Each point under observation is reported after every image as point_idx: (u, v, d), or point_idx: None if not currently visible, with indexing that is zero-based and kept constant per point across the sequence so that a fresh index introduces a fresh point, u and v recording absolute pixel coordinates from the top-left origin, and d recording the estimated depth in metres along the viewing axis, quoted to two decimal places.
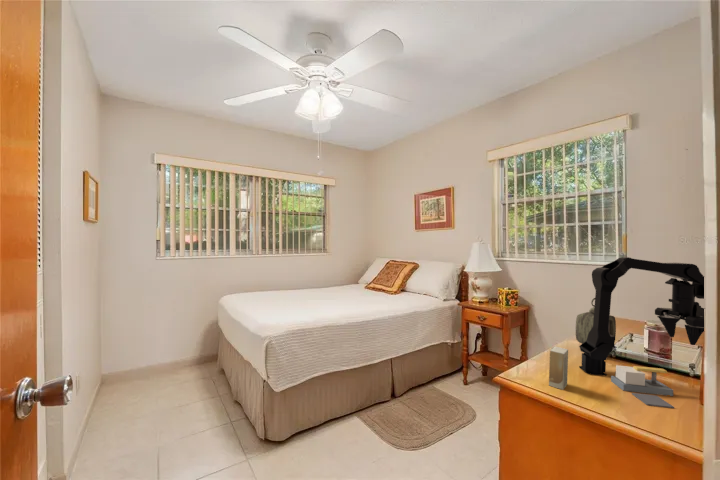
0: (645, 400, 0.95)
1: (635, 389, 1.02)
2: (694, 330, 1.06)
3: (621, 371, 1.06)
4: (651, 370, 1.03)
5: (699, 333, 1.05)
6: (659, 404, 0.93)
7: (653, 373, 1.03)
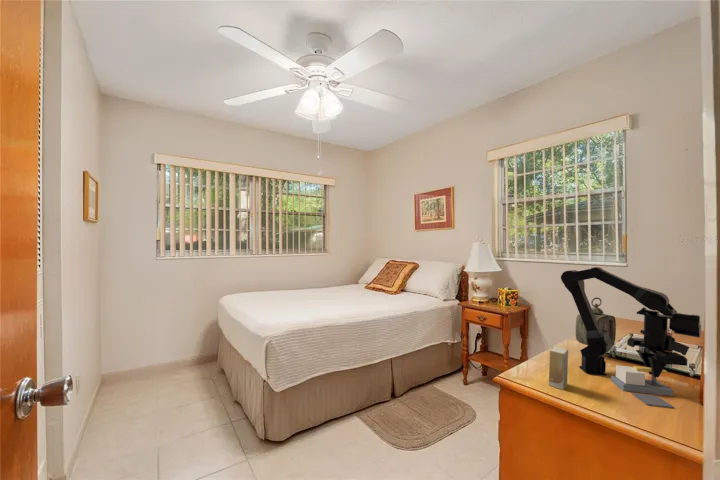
0: (645, 400, 0.95)
1: (635, 389, 1.02)
2: (657, 362, 1.02)
3: (621, 371, 1.06)
4: (651, 370, 1.03)
5: (662, 365, 1.01)
6: (659, 404, 0.93)
7: None
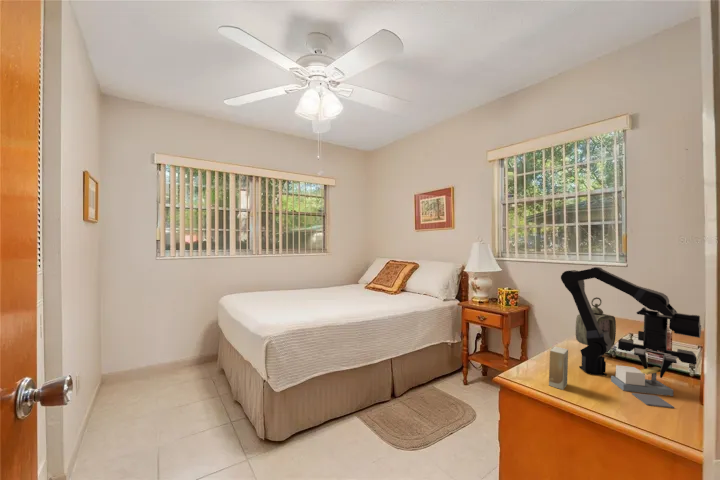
0: (645, 400, 0.95)
1: (635, 389, 1.02)
2: None
3: (621, 371, 1.06)
4: (655, 371, 1.02)
5: None
6: (659, 404, 0.93)
7: (654, 373, 1.03)
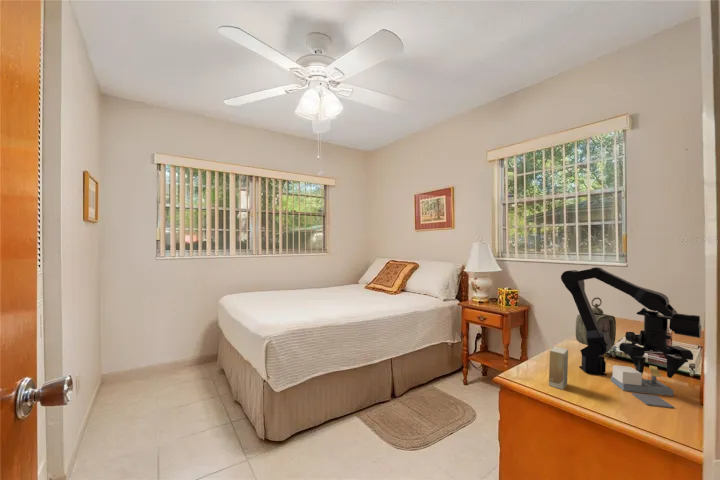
0: (645, 400, 0.95)
1: (635, 389, 1.02)
2: None
3: (617, 371, 1.06)
4: None
5: None
6: (659, 404, 0.93)
7: None
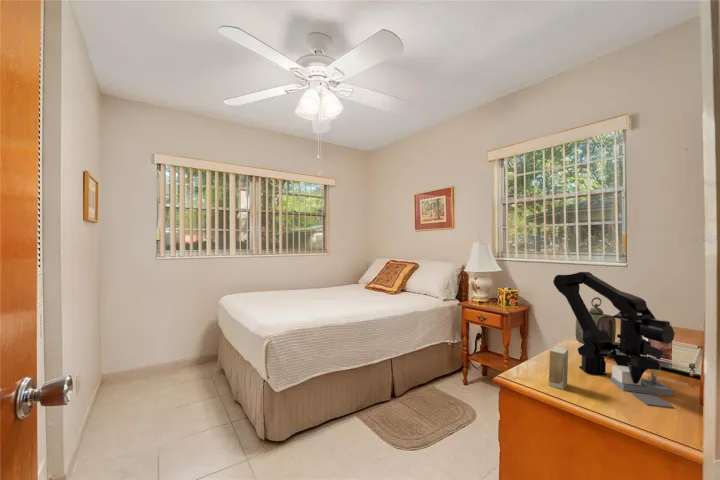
0: (645, 400, 0.95)
1: (635, 389, 1.02)
2: (636, 368, 1.01)
3: (617, 371, 1.06)
4: None
5: (641, 372, 1.01)
6: (659, 404, 0.93)
7: None
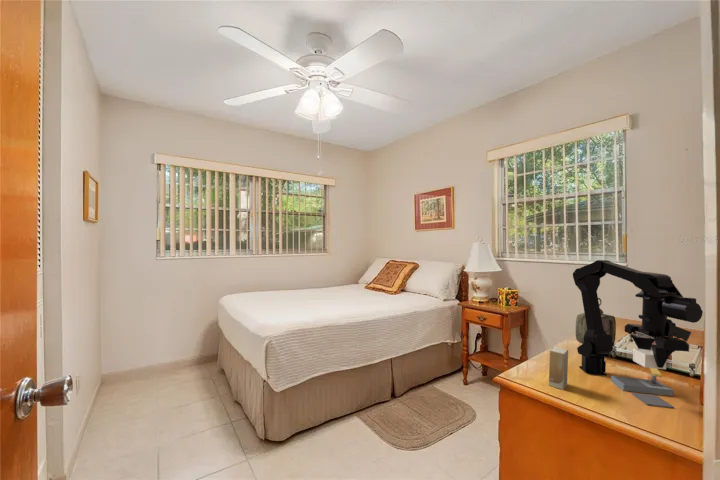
0: (645, 400, 0.95)
1: (635, 389, 1.02)
2: (661, 351, 0.92)
3: (639, 354, 0.97)
4: None
5: (667, 354, 0.92)
6: (659, 404, 0.93)
7: None
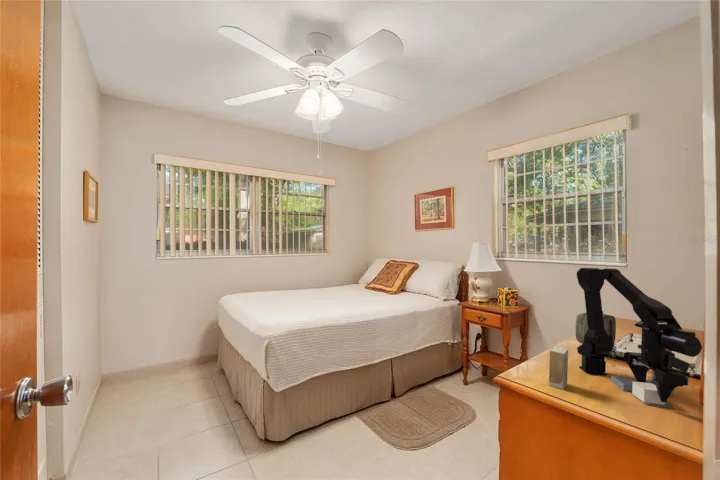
0: None
1: None
2: (665, 385, 0.91)
3: (638, 388, 0.97)
4: None
5: (670, 389, 0.90)
6: (659, 404, 0.93)
7: None
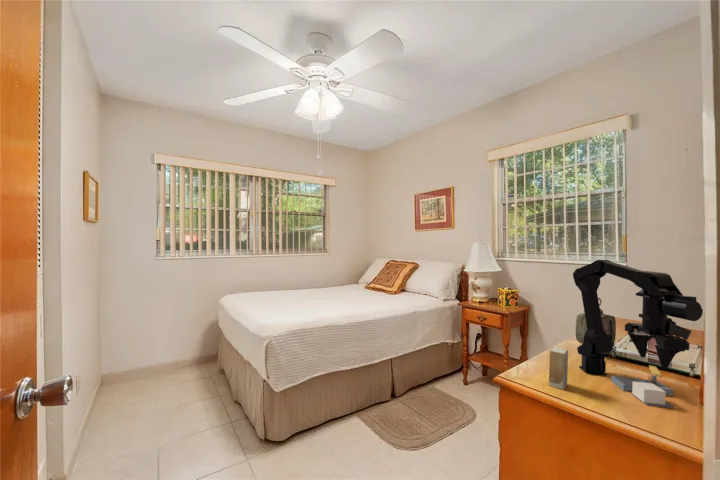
0: None
1: None
2: (666, 351, 0.91)
3: (638, 388, 0.97)
4: None
5: (671, 355, 0.90)
6: (659, 404, 0.93)
7: None
